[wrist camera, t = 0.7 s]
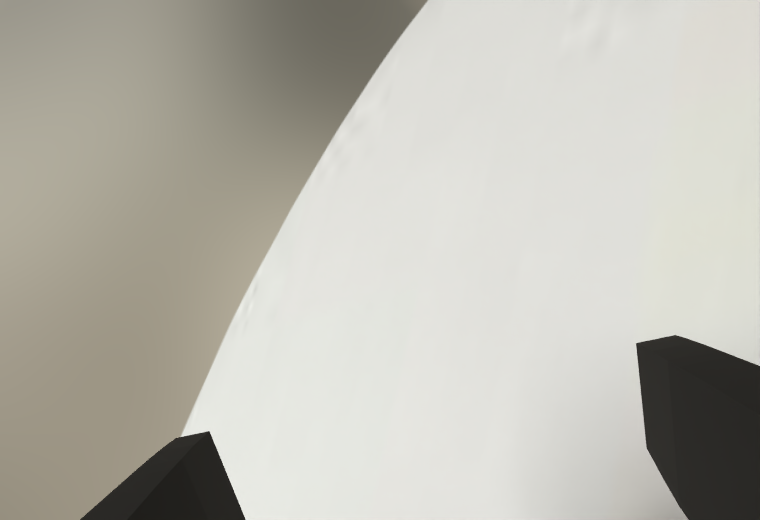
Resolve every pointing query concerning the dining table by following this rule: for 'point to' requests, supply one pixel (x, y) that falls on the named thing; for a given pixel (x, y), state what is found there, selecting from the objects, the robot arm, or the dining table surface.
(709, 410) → the robot arm
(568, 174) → the dining table surface
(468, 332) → the dining table surface
